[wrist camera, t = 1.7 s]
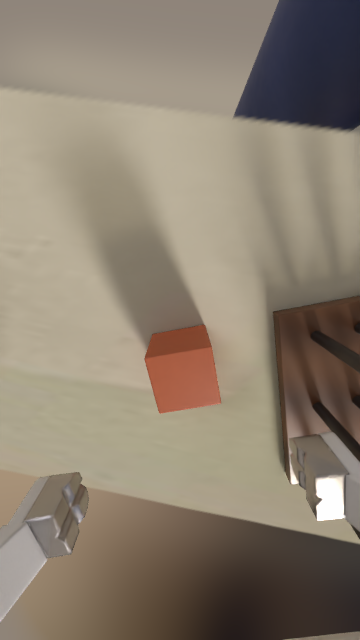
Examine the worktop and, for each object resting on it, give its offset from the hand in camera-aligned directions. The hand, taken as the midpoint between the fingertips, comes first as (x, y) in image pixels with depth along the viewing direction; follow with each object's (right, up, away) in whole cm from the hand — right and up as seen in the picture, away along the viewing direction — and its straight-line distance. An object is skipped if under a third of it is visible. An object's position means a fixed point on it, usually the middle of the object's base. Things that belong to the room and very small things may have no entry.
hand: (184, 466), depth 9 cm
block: (0, +3, +9) cm, 9 cm away
